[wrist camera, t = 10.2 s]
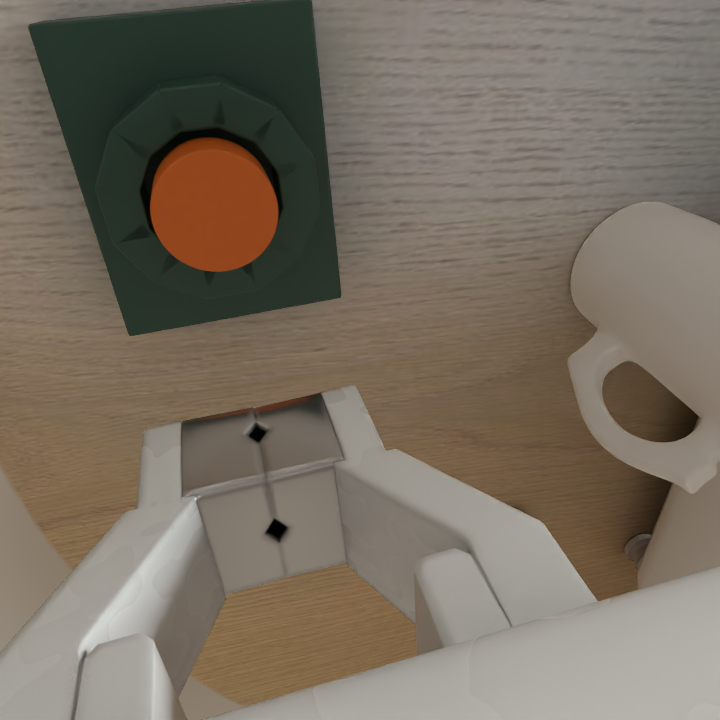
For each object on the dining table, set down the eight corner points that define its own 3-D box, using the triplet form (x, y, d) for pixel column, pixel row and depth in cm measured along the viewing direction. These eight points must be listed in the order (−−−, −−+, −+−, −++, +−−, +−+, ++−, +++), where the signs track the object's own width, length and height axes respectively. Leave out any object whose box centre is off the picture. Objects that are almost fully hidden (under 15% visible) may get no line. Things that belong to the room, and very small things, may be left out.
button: (137, 145, 17) (134, 159, 16) (261, 128, 18) (268, 141, 17) (168, 260, 19) (167, 281, 18) (278, 242, 20) (286, 262, 19)
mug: (666, 162, 26) (960, 267, 16) (708, 266, 30) (968, 403, 20) (482, 308, 28) (650, 484, 18) (543, 390, 32) (710, 574, 22)
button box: (41, 21, 18) (11, 28, 15) (299, -4, 20) (324, -2, 16) (132, 310, 24) (125, 362, 20) (330, 276, 25) (353, 319, 22)
